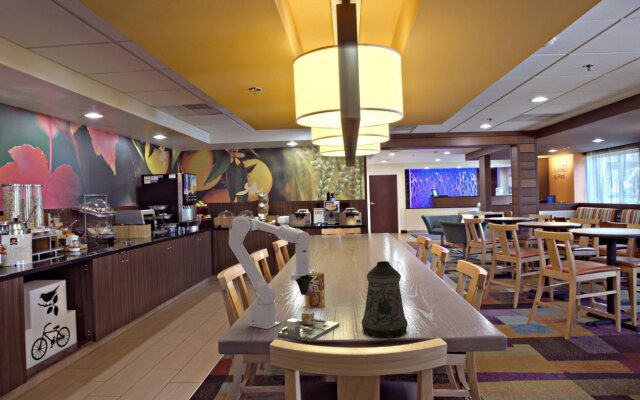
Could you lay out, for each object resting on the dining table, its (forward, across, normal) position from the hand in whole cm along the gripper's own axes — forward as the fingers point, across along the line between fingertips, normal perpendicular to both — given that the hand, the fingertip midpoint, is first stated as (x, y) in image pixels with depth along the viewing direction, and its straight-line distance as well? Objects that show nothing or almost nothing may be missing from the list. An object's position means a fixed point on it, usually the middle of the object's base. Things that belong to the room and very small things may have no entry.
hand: (304, 294), depth 171 cm
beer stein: (+11, +3, -33) cm, 35 cm away
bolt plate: (+10, -10, -9) cm, 17 cm away
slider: (+9, -6, -9) cm, 14 cm away
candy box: (+11, +20, +8) cm, 24 cm away
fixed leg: (+9, -16, -9) cm, 21 cm away
